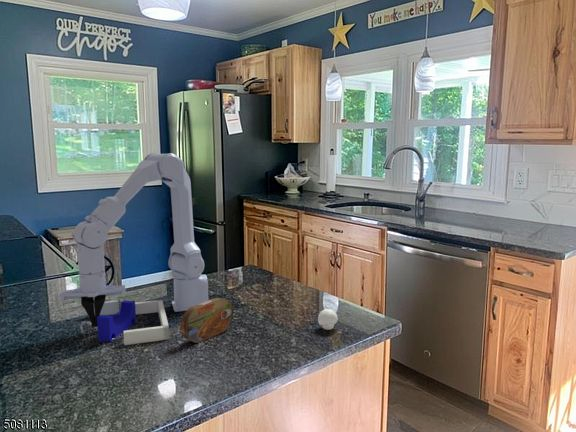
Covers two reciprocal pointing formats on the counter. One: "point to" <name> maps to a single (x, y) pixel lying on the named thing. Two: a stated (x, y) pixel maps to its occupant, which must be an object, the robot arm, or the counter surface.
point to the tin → (206, 319)
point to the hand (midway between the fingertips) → (95, 325)
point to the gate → (110, 307)
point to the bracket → (152, 332)
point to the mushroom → (327, 319)
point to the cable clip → (116, 321)
